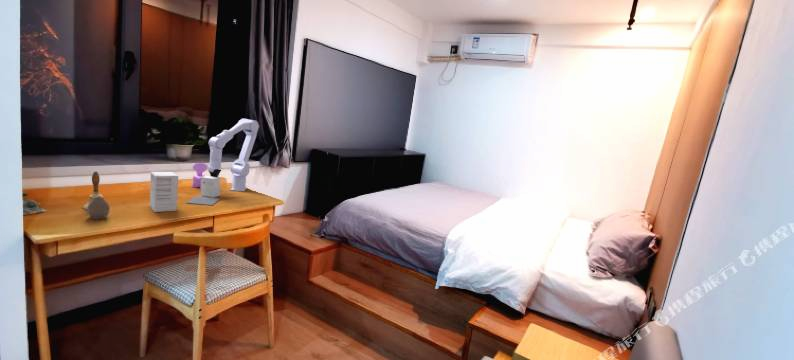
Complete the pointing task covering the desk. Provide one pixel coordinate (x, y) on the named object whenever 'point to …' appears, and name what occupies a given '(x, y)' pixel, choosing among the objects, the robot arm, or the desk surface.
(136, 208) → the desk surface
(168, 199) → the supplement box
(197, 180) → the toy chair
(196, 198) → the slate mat
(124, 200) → the desk surface
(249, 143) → the robot arm
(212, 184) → the small box
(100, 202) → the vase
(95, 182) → the hand bell
